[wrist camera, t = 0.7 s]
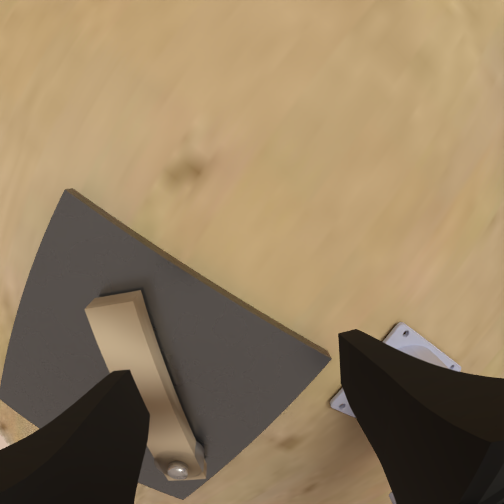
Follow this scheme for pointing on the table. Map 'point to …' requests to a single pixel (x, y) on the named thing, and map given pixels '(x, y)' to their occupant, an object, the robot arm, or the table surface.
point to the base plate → (166, 332)
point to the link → (146, 378)
